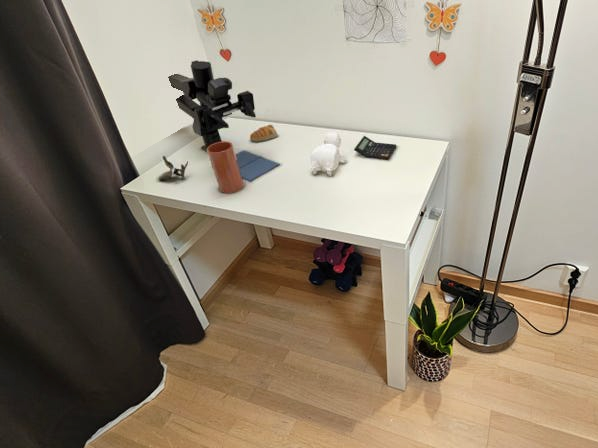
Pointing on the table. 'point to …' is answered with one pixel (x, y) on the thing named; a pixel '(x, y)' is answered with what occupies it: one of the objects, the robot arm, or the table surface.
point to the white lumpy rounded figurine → (327, 154)
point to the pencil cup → (225, 166)
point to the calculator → (374, 149)
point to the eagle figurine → (172, 170)
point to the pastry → (263, 133)
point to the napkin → (253, 165)
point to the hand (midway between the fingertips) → (241, 120)
